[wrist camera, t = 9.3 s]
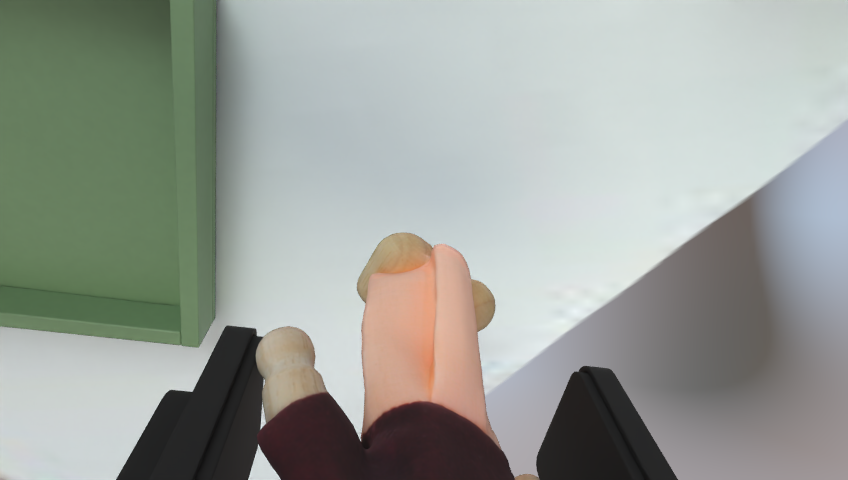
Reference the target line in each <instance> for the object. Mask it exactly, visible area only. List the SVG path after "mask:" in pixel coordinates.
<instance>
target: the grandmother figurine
mask: <svg viewBox="0 0 848 480" xmlns="http://www.w3.org/2000/svg"><path fill="white" fill-rule="evenodd" d="M357 291H358V294H359V295H360V297H361V298H362V300H363V301H364V302H365V303H366V305H365V310H364V315H363V321H362V329H361V332H362V366H363V377H364V387H365V401H364V419H363V427H362V433H361V441H360V439H359V437H358V435H357V433H356V431H355V428H354V426H353V425H352V423H351V422H350V420H349V419H348V417H347V416H346V414H345V413H344V412H343V410H342V409H341V408H340V407H339V405H338V404H337V403H336V401H335V400H334V399H333V397H332V396H331V395H330V394H329V393H328V392H327V390H326V388H325V385H324V382H323V379H322V376H321V375H320V373H318V372H317V371H316V370H315V369H314V363H315V351H314V346H313V344H312V341H311V339H310V338H309V336H308V335H307V334H306V333H305V332H304V331H302V330H300V329H298V328H295V327H289V326H288V327H282V328H278V329H275V330H273V331H271V332H269V333H268V334H267V335H265V336H264V337H263V339H262V340H261V341H260V343H259V345H258V347H257V350H256V363H257V368H258V370H259V372H260V374H261V375H262V377H263V378H264V380H265V385H264V388H263V390H262V402H263V407H264V413H265V419H266V424H265V425H264V427H263V428H262V429H261V430H260V431H259V433H258V435H257V441H258V444H259V446H260V448H261V450H262V452H263V454H264V455H265V457H266V458H267V460H268V461H269V463H270V464H271V466H272V467H273V469H274V470H275V471H276V472H277V474H278V475H279V477H280V479H281V480H540V479H539V478H538V477H536V476H534V475H531V474H523V475H519V476H517V477H515V478H514V476H513V474H512V473H511V470H510V467H509V463H508V460H507V458H506V456H505V454H504V452H503V451H502V450H501V447H500V445H499V442H498V439H497V437H496V435H495V433H494V432H493V430H492V428H491V426H490V422H489V419H488V416H487V412H486V404H485V395H484V388H483V380H482V369H481V361H480V353H479V345H478V334H477V332H478V331H480V330H482V329H484V328H485V327H486V326H487V325H488V324H489V323H490V322H491V320H492V318H493V315H494V312H495V299H494V297H493V295H492V293H491V292H490V290H489V289H488V288H487V287H486V286H485V285H484V284H483V283H481V282H479V281H476V280H472V279H471V277H470V272H469V268H468V265H467V263H466V261H465V259H464V257H463V256H462V254H461V253H459V252H458V251H457V250H455V249H454V248H452V247H450V246H448V245H446V244H437V245H434V247H433V248H432V246H431V245H430V244H428V243H427V242H426V241H424V240H423V239H422V238H420V237H418V236H416V235H414V234H411V233H395V234H392V235H390V236H388V237H386V238H384V239H383V240H382V241H381V242H380V243H379V244H378V246H377V247H376V249H375V251H374V252H373V254H372V256H371V258H370V259H369V261H368V263H367V265H366V266H365V268H364V270H363V271H362V273H361V275H360V277H359V279H358V283H357Z"/></svg>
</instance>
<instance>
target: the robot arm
mask: <svg viewBox="0 0 848 480" xmlns="http://www.w3.org/2000/svg"><path fill="white" fill-rule="evenodd" d="M262 339H263V337H259V336H257V332H256V329H254V328H245V327H236V326H226V327H225V329H224V330H223V332H222V334H221V336H220V338H219V340H218V342H217V344H216V346H215V348H214V350H213V352H212V354H211V356H210V358H209V360H208V362H207V364H206V366H205V368H204V370H203V372H202V374H201V376H200V378H199V380H198V382H197V384H196V386H195V388H194V390H193V392H187V391H177V390H170V391H168V392H167V393H166V394H165V396H164V397H163V398H162V400H161V402H160V403H159V405H158V407H157V409H156V410H155V412H154V414H153V416H152V417H151V419H150V421H149V423H148V425H147V426H146V428H145V430H144V432H143V433H142V435H141V437H140V439H139V440H138V442H137V444H136V446H135V447H134V449H133V451H132V453H131V455H130V456H129V458H128V460H127V462H126V463H125V465H124V467H123V469H122V470H121V472H120V474H119V476H118V477H117V479H116V480H248V478H249V475H250V471H251V468H252V464H253V461H254V458H255V454H256V451H257V447H258V441H257V435H258V433H259V431H260V426H261V410H262V390H263V377H262V375H261V374H260V372H259V370H258V368H257V363H256V350H257V347H258V345H259V343H260V341H261V340H262ZM536 466H537V472H538V476H539V479H540V480H678V479H677V478H676V476H675V474H674V472H673V471H672V469H671V467H670V466H669V464H668V463H667V461H666V459H665V457H664V456H663V454H662V452H661V451H660V449H659V447H658V446H657V444H656V442H655V441H654V439H653V437H652V436H651V434H650V432H649V431H648V429H647V427H646V426H645V424H644V422H643V421H642V419H641V417H640V416H639V414H638V412H637V411H636V409H635V407H634V406H633V404H632V403H631V401H630V399H629V397H628V396H627V394H626V392H625V391H624V389H623V388H622V386H621V384H620V382H619V381H618V379H617V377H616V376H615V374H614V373H613V371H612V370H610V369H607V368H599V367H590V366H583V367H582V368H580V370H579V372H574V373H573V374H572V375H571V377H570V380H569V382H568V384H567V387H566V389H565V391H564V394H563V396H562V398H561V401H560V403H559V406H558V408H557V410H556V413H555V415H554V417H553V419H552V422H551V424H550V426H549V429H548V431H547V433H546V436H545V438H544V441H543V443H542V445H541V448H540V450H539V452H538V455H537V462H536Z"/></svg>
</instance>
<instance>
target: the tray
mask: <svg viewBox="0 0 848 480" xmlns="http://www.w3.org/2000/svg"><path fill="white" fill-rule="evenodd" d="M215 203H216V0H0V326H2V327H12V328H21V329H31V330H40V331H50V332H59V333H69V334H78V335H88V336H97V337H107V338H116V339H126V340H135V341H145V342H154V343H164V344H173V345H182V346H188V347H199V346H200V344H201V342H202V341H203V339H204V337H205V335H206V333H207V331H208V330H209V328H210V326H211V324H212V322H213V320H214V319H215Z"/></svg>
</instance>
